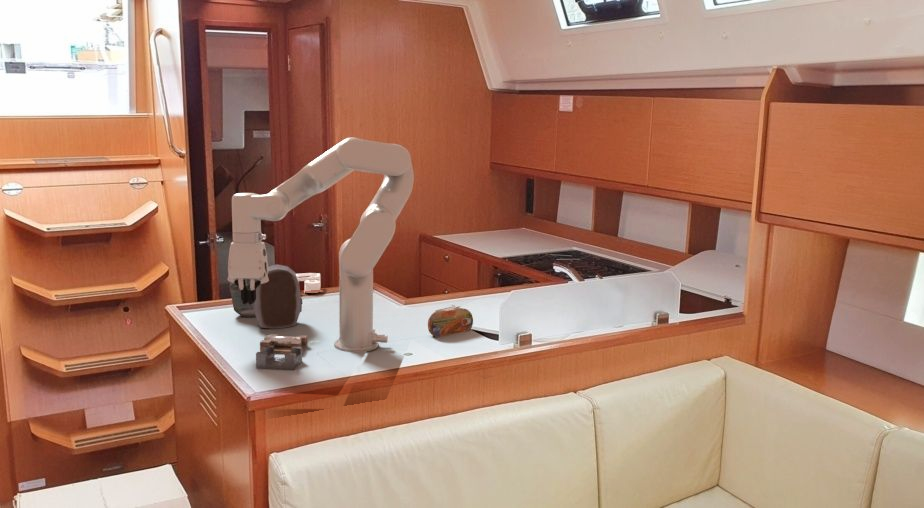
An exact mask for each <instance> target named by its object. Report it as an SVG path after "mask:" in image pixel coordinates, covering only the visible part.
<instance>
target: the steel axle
mask: <svg viewBox="0 0 924 508" xmlns="http://www.w3.org/2000/svg"><path fill="white" fill-rule="evenodd" d="M263 340H271V346H274V347H290V343H291V342H292V341H297V342H301V346H302V337H298V336H291V335H289V336H287V335H285V336H284V335H278V336H268V335H265V336H264V338H263Z"/></svg>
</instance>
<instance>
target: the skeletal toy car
mask: <svg viewBox="0 0 924 508" xmlns="http://www.w3.org/2000/svg"><path fill="white" fill-rule="evenodd" d="M296 276H297V279H298V282H299V283H300V282H304V292H305V291H311V290H320V291H321V281H322V280H321V278H322V276H321V273H320V272H319V273H318V272H317V273H316V272H305V273H296Z"/></svg>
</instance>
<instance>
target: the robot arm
mask: <svg viewBox="0 0 924 508" xmlns="http://www.w3.org/2000/svg"><path fill="white" fill-rule="evenodd" d="M354 171H359V172H365V173H371V174H376V175H383V180H382V182H381V185H380V186H379V189H377V192H376V193H375V195H374V197H373V198H372V200H371V201H370V203H369V205H368V206H367V208H366V209H365V210H364V212H363V213H362V215H361V217H360V220H359V224H358V226H357V228H356V229H355V231H354V232H353V234H352V236H351V237H350V238H348V239H346V240H345V241H344V242H343V243H342V244H341V246H340V248H339V252H338V265H339V266H338V267H339V271H338V272H339V277H338V278H339V284H338V285H339V298H338V299H339V301H338V303H339V314H338V315H339V318H338V319H339V326H338V327H339V329H338V330H339V339H336V340H335V341H334V343H333V347H334V348H335V349H337V350H339V351H344V352H350V353H351V352H370V351H373V350H375V349H377V348H378V347H379V343H383V344H384V343H385V344H388V340H389V337H388V335H385V334H381V333H380V334H378V333H376V329H374V324H373V323H374V268H375V266H376V265H377V263H378V262H379V260H380V258H381V257H382V255H383V253H384V252H385V250H386V249H387V247H388V245H389V244H390V243H391V241H392V239H393V237H394V236H395V235H394V234H395V232H396V228H397V227H396V226H397V225H396V221H397V219H398V217H399V216H400V214H401V212H402V210H403V209H404V206H405V205H406V203H407V201H408V200H409V198H410V196H411V194H412V191H413V187H414V182H415V181H414V180H415V176H414V175H415V174H414V173H415V172H414V167H413V164H412V157H411V153H410V152H409V150H408V149H407V148H406V147H404V146H402V145H400V144H398V143H390V142H389V143H387V142H381V141H375V140H374V141H372V140H366V139H362V138H358V137H353V136H352V137H351V136H350V137H346V138H345V139H343V140H341V141H340V142H338V143H337V144H335V145H334V146H332V147H331V148H330V149H328V150H327V151H325V152H324V153H322V154H321V155H319V156H318V157H316V158H315V159H314V160H312V161H311V162H309V163H308V164H306V165H305V166H304V167H302V168H301V169H300V170H299V171H298V172H297V173H296V174H294V175H293V176H292V177H290V178H289V179H286V180H285V181H284V182H282V183H281V184H279V185H278V186H277V187H275V188H274V189H272V190H271V191H269V192H268V193H266V194H258V193H256V192H255V193H254V192H238V193H237V192H236V193H235V194H233V195H232V197H231V217H232V219H231V222H232V223H231V224H232V242H231V243H230V246H229V251H228V252H229V253H228V259H227V261H228V262H227V274H228V276H227V278H226V279H227V281H228V282H229V283H231V282H232V283H235V284H236V285H237V286H238V287H239V289H240V290H241V300H243V304H246V303H248V302H249V304H253V303H254V302H255V301H256V288H257V287H258V286H259V285H260V284H263V283H266V282H268V281H269V278H268V276H267V275H268V267H269V263H268V254H267V249H266V243H265V242H262V241H263V240H266V239H267V234H265V233H264V234H263V233H262V223H261V221H262V220H264V221H271V222H276V221H277V222H278V221H280V220H282V219H284V218H285V217H286V216H287V214H288V212H290V211H291V210H293V209H294V208H296V207H297V206H298V205H300V204H302V203H303V202H304V201H306V200H308V199H310V198H311V197H313V196H315V195H318V194H321V193H323V192H324V191H326V190H328V189H329V188H331V187H332V186H334V185H335V184H337V183H338V182H340V181H341V180H342V179H344V178H345V177H347V176H348V175H350V174H351V173H353V172H354ZM246 279H251V280H250V290H249V289H248V288H247V285H246ZM258 279H260V280H258Z"/></svg>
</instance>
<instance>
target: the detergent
mask: <svg viewBox="0 0 924 508" xmlns="http://www.w3.org/2000/svg"><path fill="white" fill-rule="evenodd" d="M250 280H251V279H246V285H247V288H248V289H249V290H250ZM229 283H230V284H229V293H230V297H231V301H232V302H231V303H232V307H233V311H234V312H236V314H237V315H239V316H241V317H242V318H253V317H256V315H255V314H254V311H253V304H249V302H248V303H246V304H243V300H241V290H240V289H239V287H238V286H237V285H236V284H235V283H232V282H229Z"/></svg>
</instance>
